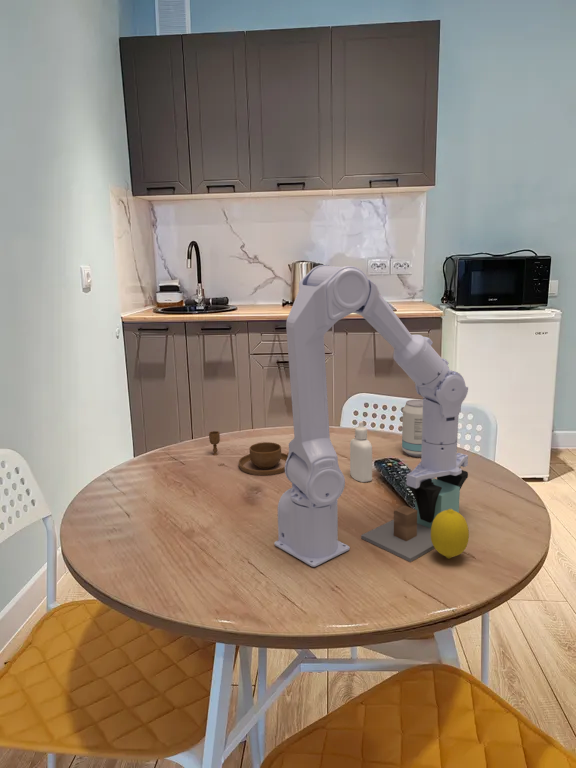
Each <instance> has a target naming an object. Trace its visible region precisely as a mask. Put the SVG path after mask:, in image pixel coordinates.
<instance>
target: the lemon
mask: <svg viewBox="0 0 576 768" xmlns="http://www.w3.org/2000/svg"><path fill="white" fill-rule="evenodd" d="M469 537H470V532H469V527H468V523H467V520H466V519H465V517H464V516H463V515H462V514H461V513H460V512H459V513H458V512H456V511H454V510H453V509H448V510H445V511H442V512H440V513H439V514H437V515H436V517H435V518H434V520H433V523H432V526H431V541H432V544H433V546H434V549H435V551H437V552H438V553H439V554H440V555H441V556H444V557H445V558H446V559H452V558H453V557H457V556H459V555H461V554H462V553H463V552H464V551H465V550H466V548H467V547H468V545H469V544H468V543H469Z"/></svg>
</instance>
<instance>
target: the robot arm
mask: <svg viewBox="0 0 576 768" xmlns="http://www.w3.org/2000/svg"><path fill="white" fill-rule="evenodd" d="M351 314H356V315H360V316H361V317H362V318H363V319H364V320H365V321H366V322H367V323H368V324H369V325H370V326H372V328H373V329H374V330H376V332H377V333H378V334H379V335H380V336H381V337H382V338H383V339H384V340H385V341H386V342H387V343H388V344H389V345H391V347H392V348H393V355H392V356H393V357H392V358H393V360H394V362H395V363H396V364H397V365H398V366H399V367H400V368H401V369H402V370H403V372H404V373H405V374H406V375H407V376H408V378H410V379H411V380H412V382H413V383H414V384H415V385H414V387H415V391H416V394H417V395H420V396H421V397H422V400H423V418H422V452H421V457H420V462H419V463H418V464H417V465H416V467H414V468H413V470H411V471H410V472H408V473H406V486H408V487H409V489H410V491H411V493H412V495H413V498H414V501H415V500H416V503H417V506H418V510H419V515H420V519H421V520H424V521H426V522H429V523H431V522H432V521H433V519H434V514H435V506H436V501H437V498H438V495H439V493H440V491H441V489H442V487H439V486H436V485H434V484H433V482H432V479H434V478H435V479H438V480H441V481H444V482H447V483H450V484H453V485H456V486H459V487H460V490H461V489H462V487H463V485H464V483H465V482H466V480H468V477H469V472H468V471H466V470H463V469H462V468H461V467H463V468H464V467H468V465H469V464H468V463H469V455H468V454H464V453H461V452H458V437H459V436H458V435H459V433H458V432H459V415H460V413H461V412H462V404H463V402H464V401H465V399H466V398H467V395H468V391H469V386H466V382H465V379H464V376H462V374H461V373H459V372H458V371H455V370H451V369H450V366H449V361H448V360H447V359H445V358H443V357H441V356H440V354H439V353H438V352H437V351H436V350H435V349H434V347H433V346H432V345H433V343H434V342H433V340H432V339H431V338H430V337H426V336H423V335H422V334H411V332H410V331H409V330H408V328H407V327H406V326H405V324H404V323H403V322H402V320H401V319H400V318H399V316H398V315H397V314H396V312H395V311H394V310H393V308H392V307H391V306H390V305H389V303H388V301H386V299H385V297H383V296H382V294H381V293H380V290H379V289H378V286H377V284H376V283H375V282H374V281H372V280H371V279H369V278H368V276H367V274H366V273H365V271H363V269H361V268H359V267H357V266H354V265H345V266H337V265H335V266H333V265H328V264H319V265H316V266H314V267H313V268H312V269H310V270H309V272H307V273H306V275H304V276H303V277H302V278H301V279H300V280H299V282H298V292H297V294H296V297H295V298H294V302H293V304H292V307H291V308H290V311H289V314H288V316H287V318H286V324H285V325H286V326H285V327H286V328H285V329H286V339H287V340H286V341H287V342H286V343H287V344H286V345H287V353H288V355H287V357H288V368H289V380H290V381H289V382H290V395H291V406H292V409H291V410H292V422H293V423H292V425H293V435H294V437H293V439H292V440H291V441H290V442H289V443H288V453H289V454H288V458H287V460H286V461H285V463H284V467H285V472H284V473H285V477H286V478H287V480H288V481H289V482H290V483H291V488H289V489H287V490H285V491H284V492H283V493H282V495H281V496H280V498H279V501H278V504H277V531H278V534H277V535H278V540H276V541H274V543H273V544H274V546H275V547H278V548H279V549H280V550H283V551H284V552H286V553H288V554H290V555H291V556H293V557H295V558H297V559H299V560H300V561H302V562H304V563H305V564H306V565H308V566H311V567H313V568H315V567H318V566H319V565H321V564H324V563H326V562H327V561H329V560H331V559H334V558H336V557H338V556H339V555H341V554H344V553H346V552H348V551H349V550H350V549H351V547H350V546H349V545H348V544H346V543H344V542H341V541H340V540H338V539H339V537H338V531H339V530H338V524H339V521H338V519H339V518H338V513H339V511H338V499H339V498H340V497H341V496H342V494H343V492H344V489H345V484H346V479H345V475H344V473H343V471H342V470H341V467H339V457H338V454H337V452H336V449H335V448H334V447H335V446H334V445H333V443H332V441H331V438H330V437H331V436H330V422H329V418H330V417H329V403H328V389H327V388H328V384H327V368H326V367H327V366H326V351H325V334H326V333H328V331H329V330H330V329H331V328H332V327H333V326H334V325H335V324H336V323H337V322H338V321H341V320H342V319H344V318H346V317H348V316H349V315H351Z"/></svg>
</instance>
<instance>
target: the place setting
mask: <svg viewBox="0 0 576 768" xmlns="http://www.w3.org/2000/svg"><path fill="white" fill-rule="evenodd" d="M208 437H209V438H208V439H209V440H208V441H209V443H210V444H211V445H212V447H213V449H212V452H213V454H212V455H213V456H218V455H219V454H218V446H217V445H218V444H220V440H221V435H220V431H217V430H214V431H212V430H211V431H209V433H208ZM248 449H249V454H246V455H244V456H241V458H240V459H239V460H238V467H239V469H240V470H241V471H242V472H244V473H246V474H249V475H253V476H274V475H278V474H283V473H285V466H283V467H279V468H275V469H272V468H274V467H276V465H277V464H279V463H280V461H281V460H283V461H284V462H286V460H287V458H288V454H289V452H287V453H284V452H282V446H281V445H280V444H279V443H277V442H271V441H269V442H268V441H267V442H264V441H263V442H258V443H255V444H252V445H251V446H249V448H248ZM249 461H250V462H251V463H252V464H253V465H254V466H256V467H257V468H258V469H252V468H248V467H245V466H244V465H245V464H247V463H248V462H249ZM217 465H218V466H219V467H221V466H222V467H223V466H225V463H218V464H217ZM259 469H262V470H259ZM263 469H264V470H263ZM266 469H267V470H266Z"/></svg>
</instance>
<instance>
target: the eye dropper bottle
mask: <svg viewBox="0 0 576 768" xmlns="http://www.w3.org/2000/svg"><path fill="white" fill-rule="evenodd" d="M349 445H350V446H349V449H350V450H349V451H350V452H349V457H350V459H349V474H350V476H351V478H352V479H354V480H355V481H357V482H361V483H367V482H371V481H372V480H373V446H372V443H371V441H369V439H368V428H367V427H365V426H364V422H363V421H359V422H358V426H357V427H355V428H354V438H352V439H351V440H350V444H349Z"/></svg>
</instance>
